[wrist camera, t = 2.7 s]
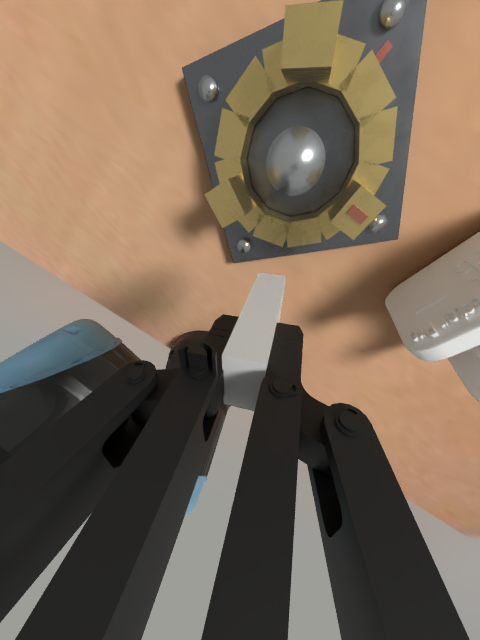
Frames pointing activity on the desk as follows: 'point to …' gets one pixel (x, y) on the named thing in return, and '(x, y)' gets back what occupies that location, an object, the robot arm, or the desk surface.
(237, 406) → the robot arm
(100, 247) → the desk surface
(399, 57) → the flange
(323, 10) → the ring nut
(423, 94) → the desk surface
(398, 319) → the cable organizer
